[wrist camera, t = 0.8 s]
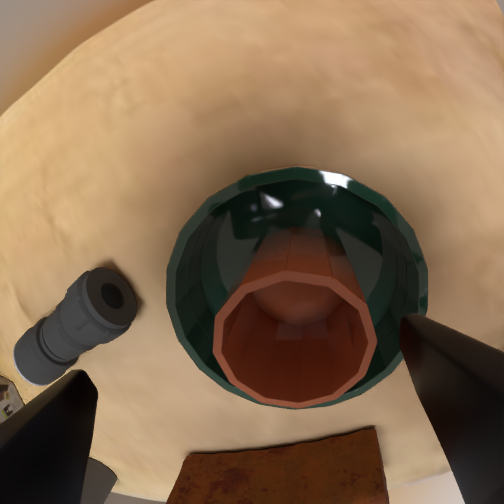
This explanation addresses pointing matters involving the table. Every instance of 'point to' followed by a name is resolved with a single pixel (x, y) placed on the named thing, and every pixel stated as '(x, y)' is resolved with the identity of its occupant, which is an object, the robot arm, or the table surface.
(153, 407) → the table surface
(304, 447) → the brick
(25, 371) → the flashlight
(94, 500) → the bottle
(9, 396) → the coffee box
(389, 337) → the planter
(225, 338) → the small pot
